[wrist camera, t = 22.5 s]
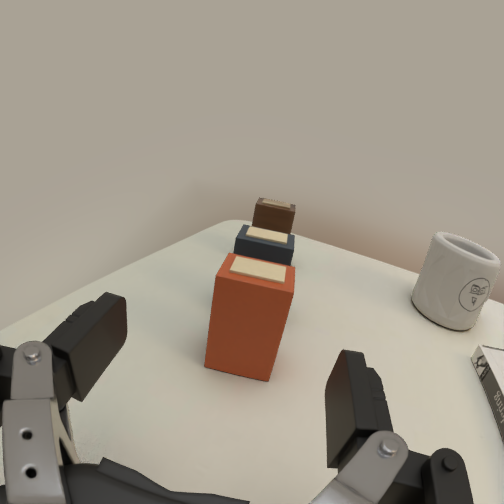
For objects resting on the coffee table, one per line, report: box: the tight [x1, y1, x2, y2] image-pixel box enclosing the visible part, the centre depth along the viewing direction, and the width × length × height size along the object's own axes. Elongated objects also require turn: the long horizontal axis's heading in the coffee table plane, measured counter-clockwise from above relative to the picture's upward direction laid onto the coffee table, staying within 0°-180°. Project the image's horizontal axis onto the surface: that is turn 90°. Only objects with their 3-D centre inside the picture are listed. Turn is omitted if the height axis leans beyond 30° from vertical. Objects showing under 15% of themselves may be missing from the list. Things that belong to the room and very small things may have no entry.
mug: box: [412, 232, 501, 330], centre depth 36 cm, size 14×11×10 cm
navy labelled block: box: [233, 225, 295, 266], centre depth 30 cm, size 4×5×8 cm
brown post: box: [252, 198, 295, 234], centre depth 42 cm, size 4×5×8 cm
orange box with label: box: [204, 253, 295, 381], centre depth 23 cm, size 4×5×8 cm
